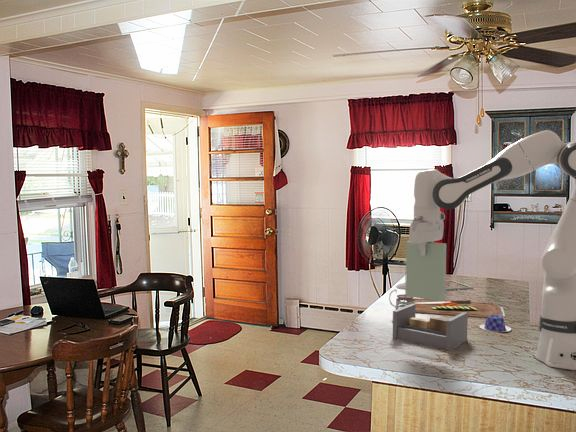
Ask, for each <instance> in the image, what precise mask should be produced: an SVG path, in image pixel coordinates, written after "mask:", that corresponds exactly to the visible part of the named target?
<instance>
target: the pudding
mask: <svg viewBox="0 0 576 432" xmlns="http://www.w3.org/2000/svg"><path fill="white" fill-rule="evenodd" d="M479 328H480V329H481V330H484V331H488V332H492V333H496V332H497V333H506V332H510V331H511V330H512V328H511V327H510V326H507V325H506V324H505V319H504V316H498V315H490V316H488V317H487V318H486V321H485V323H482V324H480V325H479Z"/></svg>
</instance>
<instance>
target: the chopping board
mask: <svg viewBox="0 0 576 432" xmlns="http://www.w3.org/2000/svg"><path fill="white" fill-rule="evenodd" d="M412 299H414V300H415V304H416V310H415V314H421V315H422V314H423V315H434V316H435V315H437V316H450V317H454V316H457V315H459V314H461V313H463V312H467V313H468V318H477V319H487V317H488V316H490V315H498V316H502V317H506V313H505V310H504V307H503V306H501V307H499V306H498V304H496V303H493V302H492V303H491V302H479V301H472V300H469V299H468V300H467V299H466V300H463V299H462V300H461V299H460V300H459V299H458V300H451V299H450V300H449V299H448V300H447V299H445V301H443V302H442V301H436V300H429V299H422V298H416V297H414V298H412ZM402 302H407V301H405V300H402ZM401 305H404V304H401ZM400 308H402V307H400ZM500 310H501V313H502V314H501V313H500Z"/></svg>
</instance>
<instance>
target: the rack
mask: <svg viewBox="0 0 576 432" xmlns="http://www.w3.org/2000/svg"><path fill="white" fill-rule="evenodd" d="M399 308H400V309H399ZM399 308H398V309H397V310H396V309H394V310H393V311H392V339H395V340H399V341H405V342H410V343H415V344H417V345H418V344H419V345H424V346H428V347H433V348H438V349H443V350H448V351H451V350H453V349H455V348H456V347H457V346H460V345H461V344H463V343H464V342H466V341H468V318H469V317H468V313H467V312H463V313H461V314H459V315H457V316H451V317H450V318H447V319H448V320H446V332H441V331H435V330H430V329H425V328H419V327H414V326H410V318H412V317H413V318H416V313H415V310H416V304H410V305H408V306H407V305H406V306H405V307H402V308H401V307H399Z"/></svg>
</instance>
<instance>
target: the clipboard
mask: <svg viewBox="0 0 576 432" xmlns="http://www.w3.org/2000/svg"><path fill="white" fill-rule="evenodd" d="M446 282H454V283H457V284H459V285H462V286H465V287H461V288H446V290H450V291H456V290H455V289H465V290H473V289H474V287H473V286H470V285H468V284H467V283H462V282H458V281H456V280H446Z"/></svg>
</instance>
